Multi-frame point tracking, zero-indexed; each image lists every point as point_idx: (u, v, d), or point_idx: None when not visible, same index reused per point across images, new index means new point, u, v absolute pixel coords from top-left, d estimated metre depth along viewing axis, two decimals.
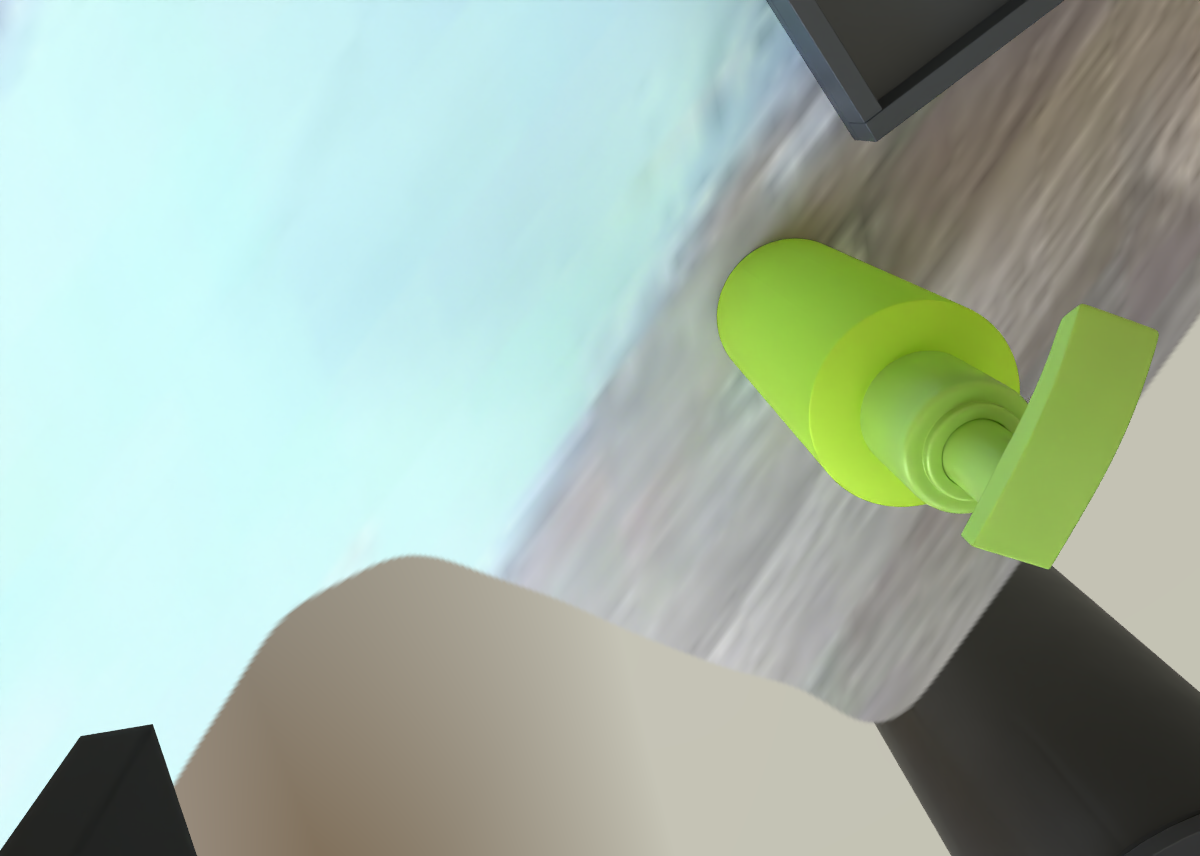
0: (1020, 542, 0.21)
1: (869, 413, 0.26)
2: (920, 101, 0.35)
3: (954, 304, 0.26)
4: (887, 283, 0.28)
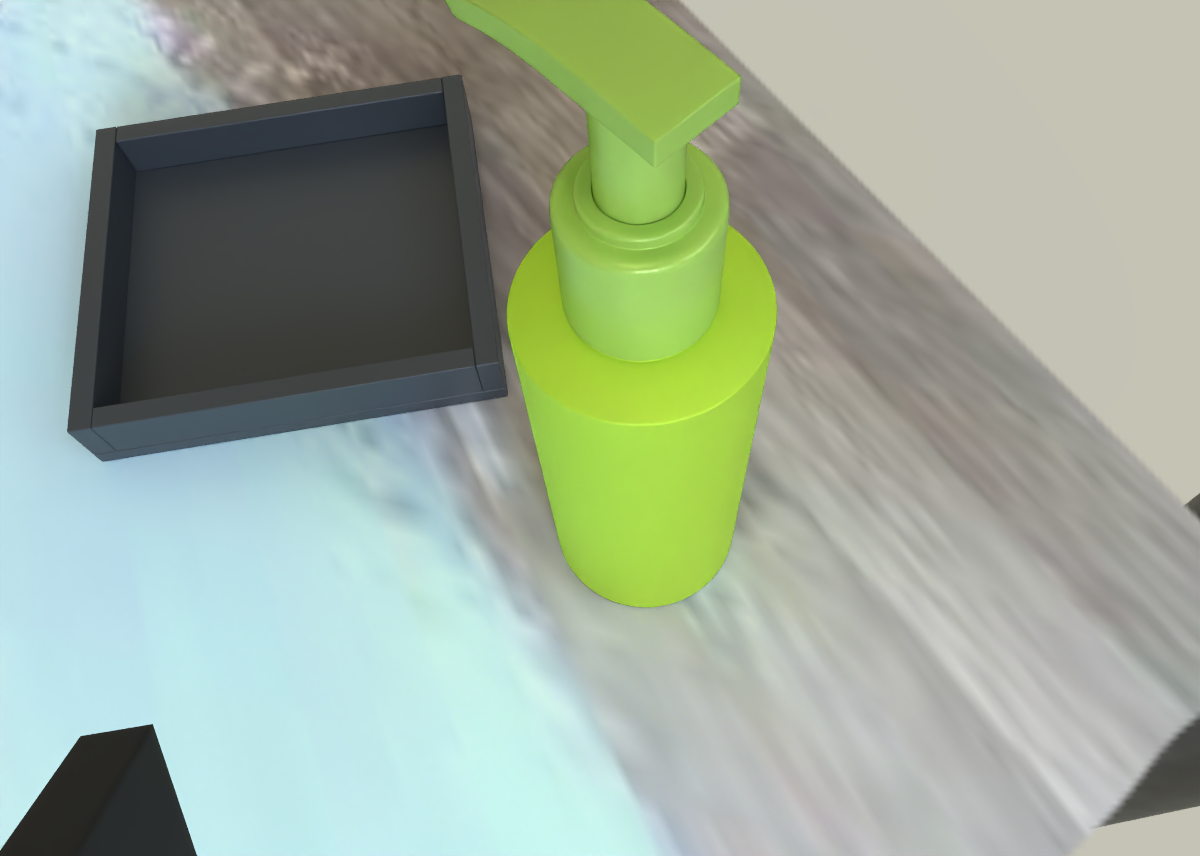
0: (680, 92, 0.15)
1: (593, 332, 0.20)
2: (486, 314, 0.34)
3: (547, 234, 0.22)
4: None
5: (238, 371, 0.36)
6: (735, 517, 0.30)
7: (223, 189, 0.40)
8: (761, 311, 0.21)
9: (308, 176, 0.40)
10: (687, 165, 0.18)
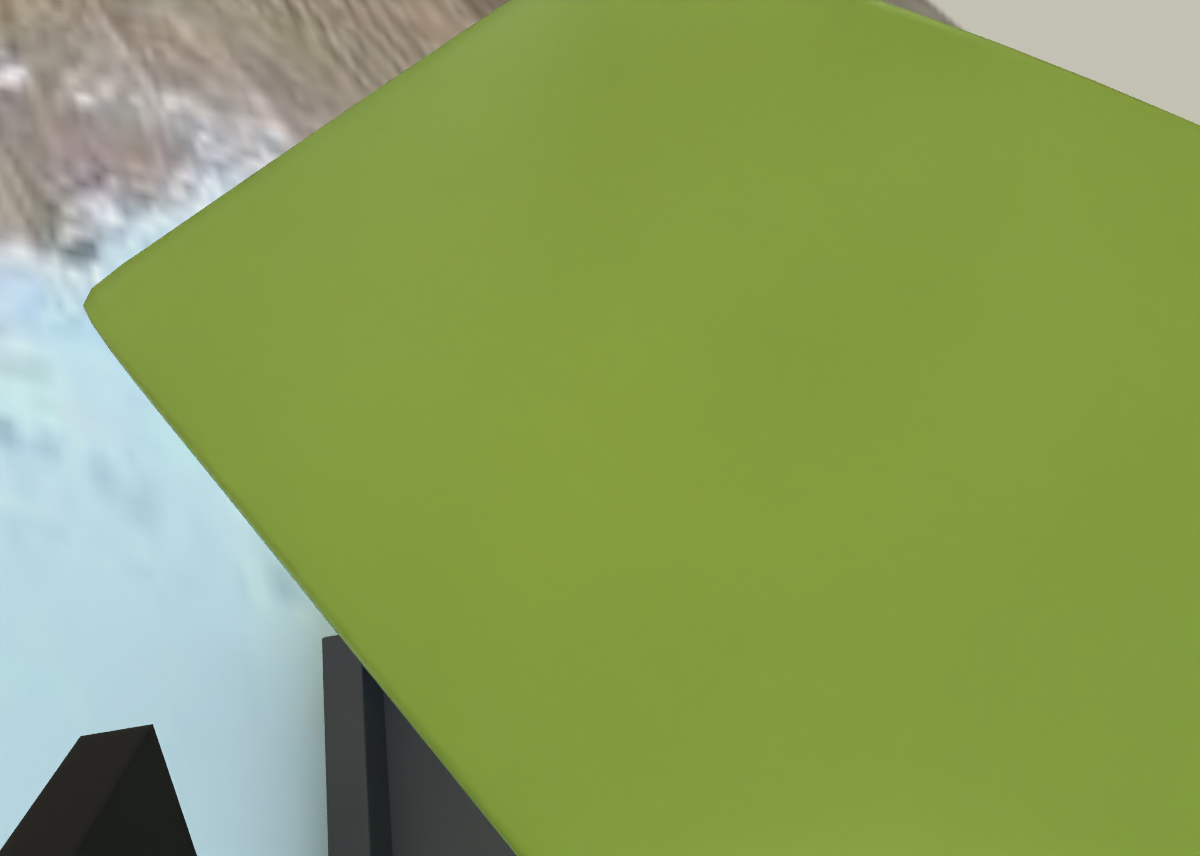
0: None
1: None
2: None
3: None
4: None
5: None
6: None
7: None
8: None
9: None
10: None
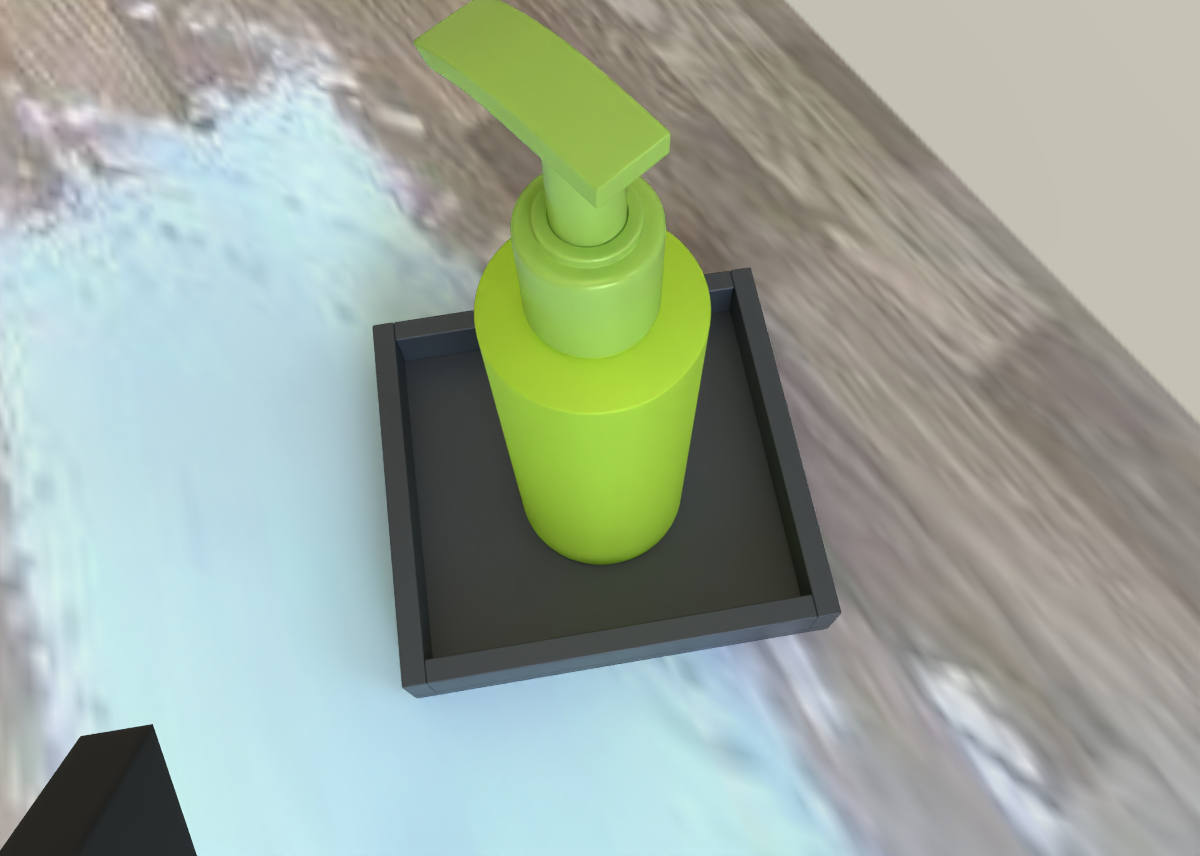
0: (619, 146, 0.18)
1: (549, 333, 0.23)
2: (820, 556, 0.33)
3: (510, 239, 0.25)
4: None
5: (549, 600, 0.35)
6: (681, 485, 0.33)
7: None
8: (697, 313, 0.24)
9: None
10: (629, 194, 0.21)
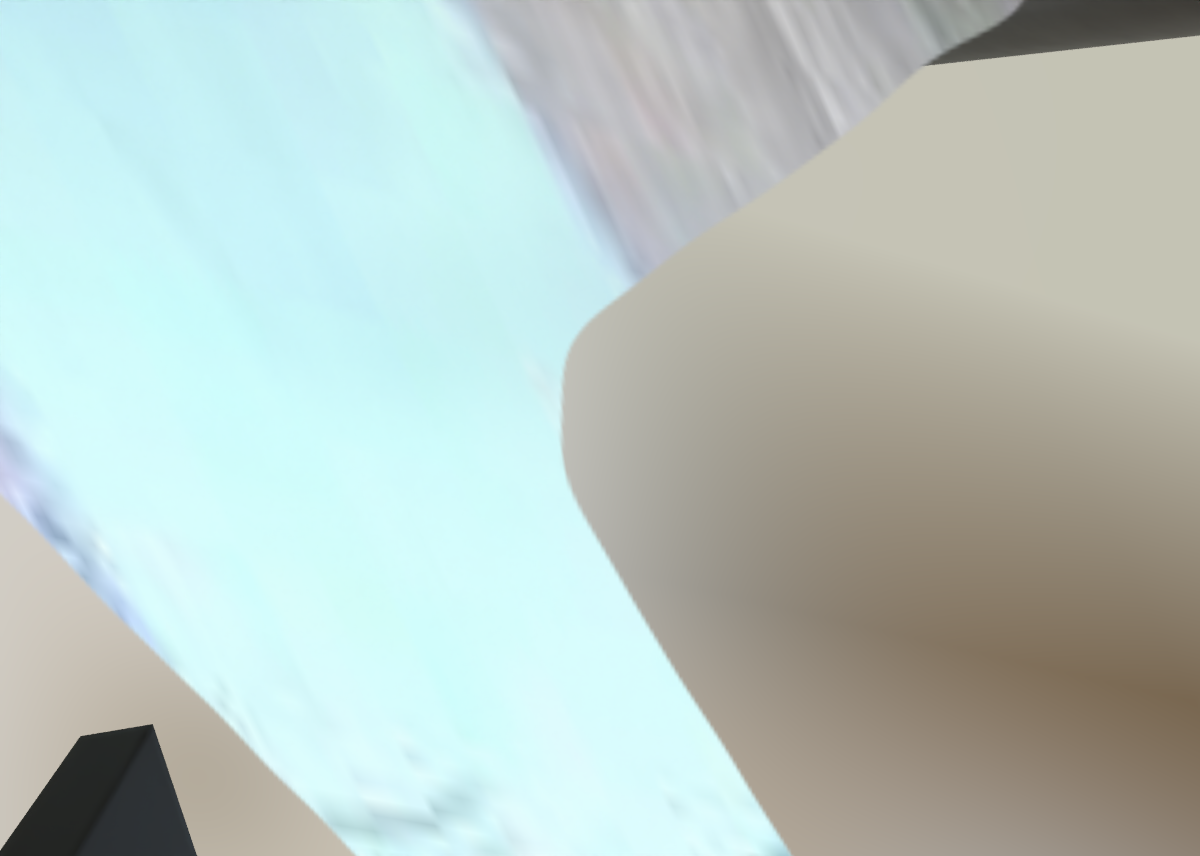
0: None
1: None
2: None
3: None
4: None
5: None
6: None
7: None
8: None
9: None
10: None
